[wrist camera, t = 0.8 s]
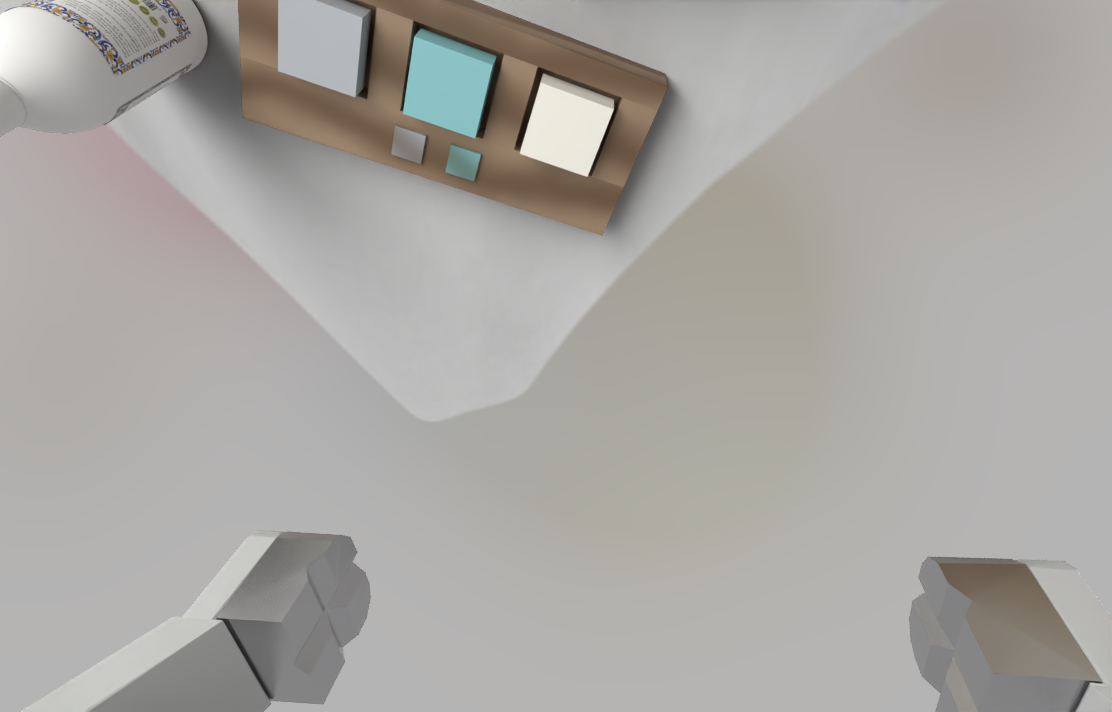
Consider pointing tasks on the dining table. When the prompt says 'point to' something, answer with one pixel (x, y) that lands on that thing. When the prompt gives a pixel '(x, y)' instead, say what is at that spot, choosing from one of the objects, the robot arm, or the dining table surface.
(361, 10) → the grey key
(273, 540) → the robot arm
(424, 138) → the keypad
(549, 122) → the cream key
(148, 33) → the bath foam
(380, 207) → the dining table surface
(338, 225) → the dining table surface
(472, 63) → the teal key
